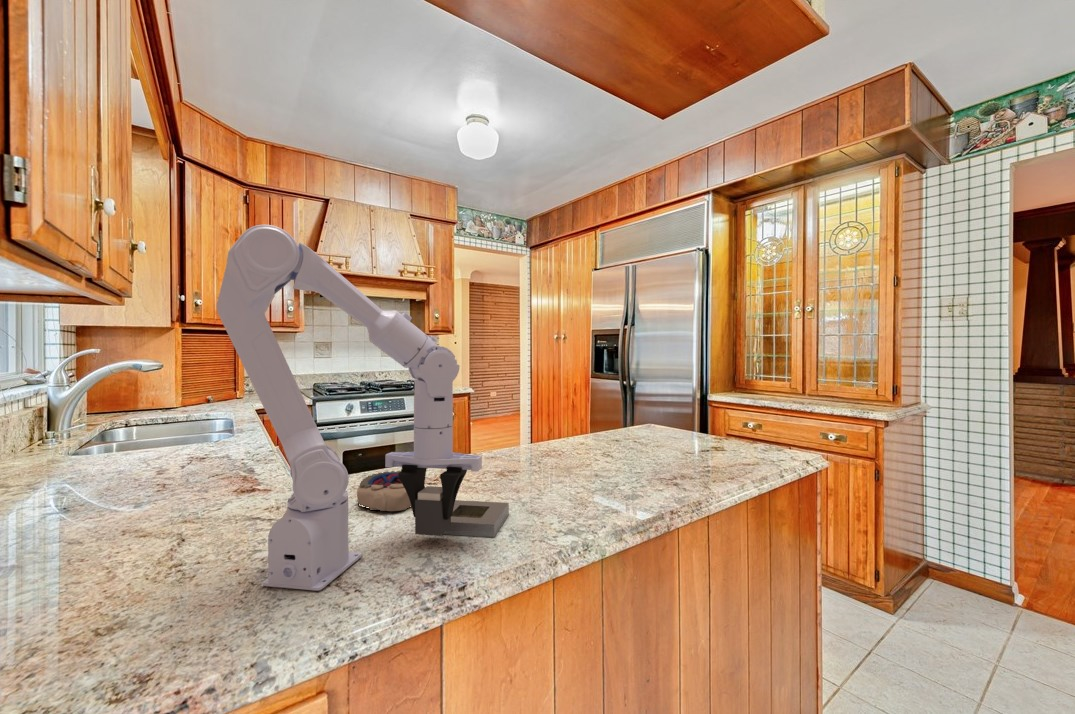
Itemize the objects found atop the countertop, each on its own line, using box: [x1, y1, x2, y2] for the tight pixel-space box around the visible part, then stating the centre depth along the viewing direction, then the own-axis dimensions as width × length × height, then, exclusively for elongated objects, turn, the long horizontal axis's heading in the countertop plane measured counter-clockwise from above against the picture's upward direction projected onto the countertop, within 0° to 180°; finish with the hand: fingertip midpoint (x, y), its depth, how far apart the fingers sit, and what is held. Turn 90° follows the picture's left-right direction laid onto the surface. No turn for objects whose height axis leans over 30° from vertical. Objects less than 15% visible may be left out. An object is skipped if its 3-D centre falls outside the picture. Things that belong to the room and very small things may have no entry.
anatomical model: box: [356, 470, 426, 512], centre depth 86 cm, size 12×16×5 cm
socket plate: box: [442, 499, 510, 538], centre depth 74 cm, size 10×11×3 cm
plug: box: [414, 485, 451, 537], centre depth 67 cm, size 4×4×6 cm
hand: (433, 516), depth 67 cm, fingers closed on plug, 4 cm apart
